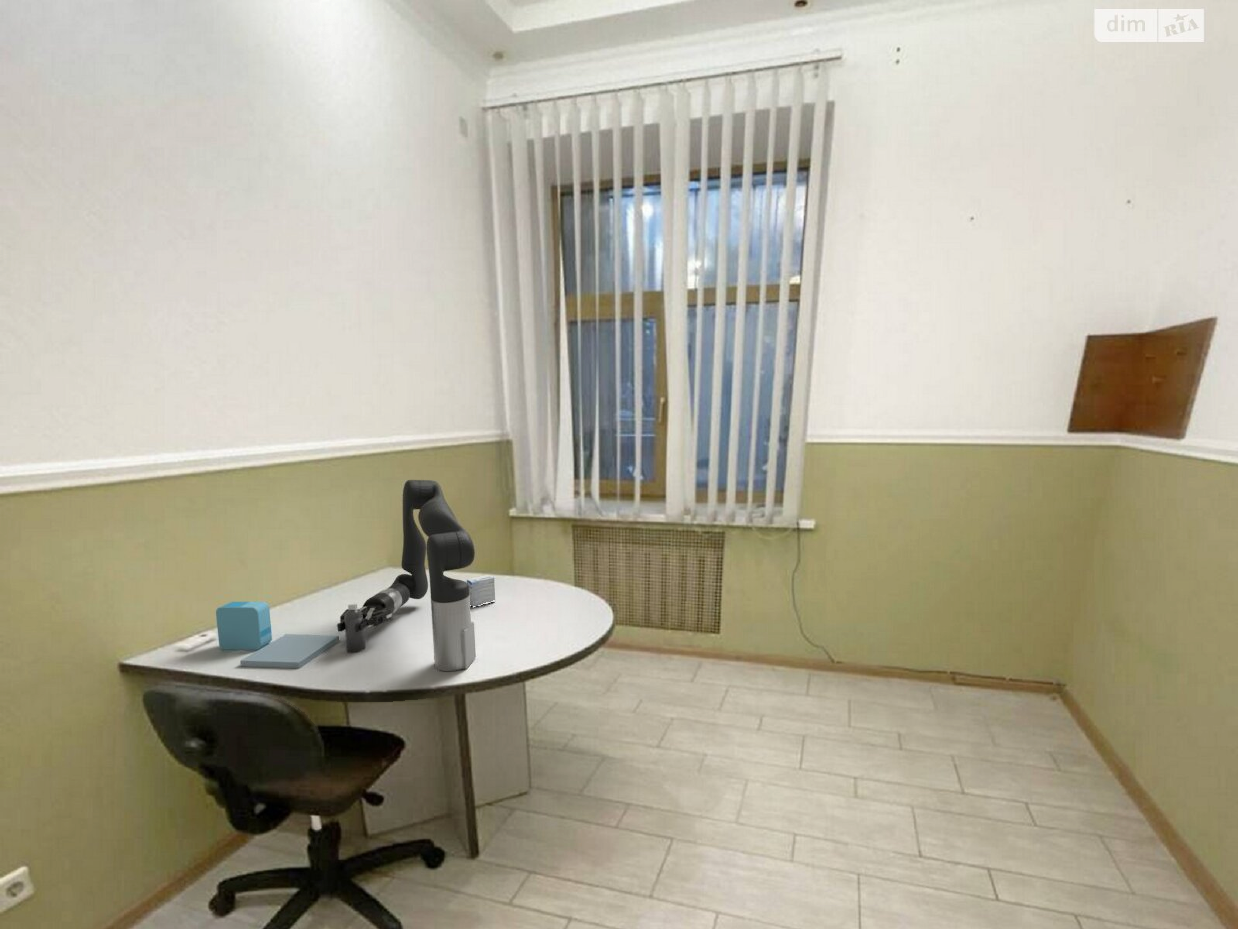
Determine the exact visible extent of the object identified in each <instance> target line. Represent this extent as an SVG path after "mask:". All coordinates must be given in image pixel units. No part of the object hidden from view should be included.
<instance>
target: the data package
mask: <svg viewBox="0 0 1238 929" xmlns="http://www.w3.org/2000/svg"><path fill="white" fill-rule="evenodd" d="M270 610H271V609H270V606H269V604H268V603H267V602H265V601H231V602H227V603H226V604H224V605H222V606H219V607H217V608H216V611H215V616H216V619H215V620H216V626H217V636H218V645H219V647H220V648H221V649H222V650H225V651H226V650H227V651H228V650H229V651H234V650H235V651H258V650H259V649H261V648H263V647H265V646H266V645H268V644H270V643H272V640H273V634H272V624H271V622H272V621H271V612H270Z"/></svg>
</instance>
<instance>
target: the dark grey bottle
mask: <svg viewBox="0 0 1238 929" xmlns="http://www.w3.org/2000/svg"><path fill="white" fill-rule="evenodd" d="M347 607H348V608H347V609H349V611H347V612H346V614H345V616H344V621H345V630H344V631H345V644H346V652H347V653H349V654H356V653H360V652H362V651H364V650H365V649H366V642H365V631H364V630H365V629H363V630H361V631H360V632H356V629H355V625H356V624H357V623H358V622H360V621H361V620H363V614H362V612H361V611H360V610H359V609H360V608H358V603H349V604H347Z"/></svg>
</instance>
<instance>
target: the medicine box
mask: <svg viewBox="0 0 1238 929" xmlns="http://www.w3.org/2000/svg"><path fill="white" fill-rule="evenodd" d="M466 582H467V583H468V585H469V593H470V594H469V595H470V605H471V606H478V605H481V604H483V603H486V602H491V601H493V600H495V601H496V590H495V589H496V588H495V577H493V575H490V574H484V575H482V576H476V577H472V578H469V579H466ZM471 606H470V607H471Z"/></svg>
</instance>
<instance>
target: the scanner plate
mask: <svg viewBox="0 0 1238 929" xmlns="http://www.w3.org/2000/svg"><path fill="white" fill-rule="evenodd" d="M338 642H340V635H339V634H337V635H336V634H335V635H334V634H333V635H332V634H296V633H295V634H294V633H293V634H292V633H286V634H283V635H282V636H280V637H278V638H277V639H275V640H273V641H271V642H270V643H268V644H267V645H265V646H263V647H262V648H260V649H258V650H255V651H254V652H253V653H251V654H249V655H247V656H246V657H243V658H242V659H241V660H240V661H239V663H240V667H252V668H253V667H254V668H257V667H258V668H280V669H281V668H282V669H284V668H285V669H301V668H302V667H303V666H305V665H307V664H308V663H309V662H311V661H312V660H314V659H315V658H317V657H318V656H320V655H321V654H322V653H323V652H325V651H326V650H328V649H329V648H331V647H333V646H334V645H335V644H337V643H338Z"/></svg>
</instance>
